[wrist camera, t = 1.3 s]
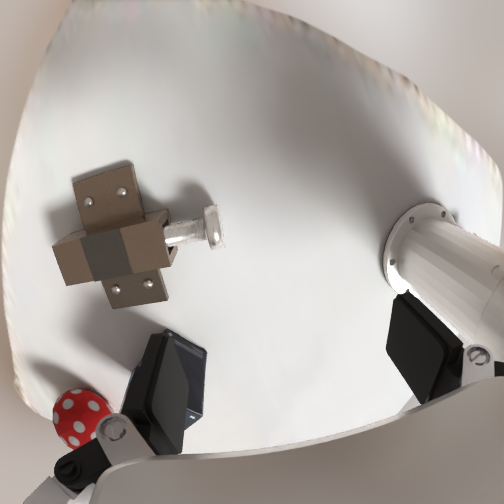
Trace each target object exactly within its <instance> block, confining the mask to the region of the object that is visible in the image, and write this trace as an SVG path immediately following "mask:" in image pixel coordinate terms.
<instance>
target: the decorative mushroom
mask: <svg viewBox="0 0 504 504" xmlns="http://www.w3.org/2000/svg"><path fill="white" fill-rule="evenodd" d="M110 414H114V412H113V409H112V408H111V407H110V405H109V404H108V403H107V402H106V401H105V400H104V398H102V397H100V396H99V395H97V394H95V393H94V392H92V391H88V390H83V389H74V390H69V391H66V392H65V393H64V394H62V395H61V396H60V397H58V399H57V401H56V403H55V405H54V407H53V423H54V426H55V429H56V431H57V434H58V436H59V437H60V438H61V439H62V440H63V441H64V442H65V444H66V445H67V446H68V447H70V448H72V449H73V450H75V449H77V448H79V447H80V446H82V445H84V444H86V443H87V442H89V441H91V440H92V439H94V438H96V433H95V430H96V426H97V424H98V422H99V421H100V420H101V419H102V418H104V417H105V416H107V415H110Z"/></svg>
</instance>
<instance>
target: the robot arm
mask: <svg viewBox="0 0 504 504" xmlns="http://www.w3.org/2000/svg"><path fill="white" fill-rule="evenodd" d="M383 267H384V273H385V277H386V280H387V281H388V283H389V285H390V286H391V287H392V288H393V289H394V290H395V291H396V292H397V293H398V295H397V296H396V298H395V299H394V300H393V307H392V314H391V320H390V327H389V333H388V338H387V344H386V351H387V354H388V355H389V357H390V358H391V360H392V361H393V363H394V364H395V366H396V367H397V369H398V370H399V372H400V373H401V375H402V376H403V378H404V379H405V381H406V382H407V384H408V385H409V387H410V388H411V390H412V391H413V393H414V395H415V396H416V398H417V399H418V401H419V402H420V404H422V405H420V406H418V407H415V408H413V409H411V410H408V411H405V412H403V413H400V414H398V415H395V416H392V417H389V418H387V419H384V420H381V421H378V422H375V423H372V424H369V425H365V426H362V427H359V428H356V429H352V430H349V431H345V432H341V433H338V434H334V435H330V436H326V437H321V438H317V439H313V440H308V441H303V442H298V443H293V444H287V445H281V446H275V447H268V448H261V449H253V450H244V451H233V452H221V453H205V454H181V453H182V447H183V437H184V427H185V418H186V410H187V401H188V393H189V384H188V380H187V378H186V375H185V373H184V370H183V367H182V365H181V362H180V359H179V357H178V354H177V351H176V349H175V346H174V343H173V340H172V338H171V336H167V335H166V333H158V334H151V336H150V339H149V342H148V345H147V347H146V350H145V353H144V356H143V359H142V362H141V364H140V366H137V367H136V369H135V371H134V374H133V377H132V380H131V382H130V385H129V388H128V391H127V394H126V397H125V400H124V403H123V407H122V410H121V413H120V414H118V413H115V414H110V415H107V416H105V417H104V418H102V419H101V420H100V421H99V422H98V424H97V426H96V430H95V433H96V438H94V439H92V440H91V441H89V442H87V443H86V444H84V445H82V446H80V447H79V448H77V449H75V450H73V451H72V452H70V453H68V454H66V455H64V456H63V457H61V458H60V459H59V460H58V461H57V462H56V464H55V467H54V474H55V476H54V477H53V478H51V477H50V476H49V477H48V478H47V479H46V480H45V481H44V482H43V483H42V484H41V485H40V486H39V487H38V488H37V489H36V490H35V491H34V492H33V493H32V494H31V495H30V496H29V497H27V498H26V499H25V501H24V502H23V504H504V250H503V249H502V248H500V247H498V246H496V245H494V244H492V243H490V242H488V241H486V240H484V239H482V238H480V237H478V236H477V235H476V234H475V233H473V234H472V233H470V232H468V231H466V230H464V229H462V228H459V227H457V226H456V223H455V220H454V218H453V217H452V215H451V214H450V213H449V211H448V210H447V209H445V208H443V207H442V206H440V205H437V204H434V203H423V204H419V205H417V206H414V207H413V208H411V209H410V210H408V211H407V212H406V213H405V214H404V215H403V216H402V217H400V219H399V220H398V221H397V223H396V224H395V225H394V227H393V229H392V231H391V233H390V235H389V237H388V240H387V243H386V246H385V251H384V258H383ZM419 296H420V297H421V298H422V299H424V300H425V301H426V302H427V303H428V304H429V305H430V306H431V307H432V308H434V309H435V310H436V311H437V312H438V313H439V314H440V315H441V316H442V317H443V318H444V319H446V320H447V321H448V322H449V323H450V324H451V325H452V326H453V327H454V328H455V329H456V330H457V331H458V332H459V333H460V334H461V335H462V336H463V337H464V338H465V339H467V340H468V341H469V342H470V343H471V344H472V345H470V346H468V347H467V348H466V349H464V348H463V347H462V346H463V343H462V341H460V339H459V338H458V337H457V336H456V335H455V334H454V333H453V332H452V331H451V330H450V329H449V328H448V327H447V326H446V325H445V324H444V323H443V322H442V321H441V320H440V319H439V318H437V317H436V316H435V315H434V314H433V313H432V312H431V311H430V310H429V309H428V308H427V307H426V306H425V305H424V304H423V303H422V302H421V301H420V300H419V299H417V298H416V297H419ZM178 454H179V455H178Z"/></svg>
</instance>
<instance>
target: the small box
mask: <svg viewBox="0 0 504 504" xmlns="http://www.w3.org/2000/svg"><path fill="white" fill-rule="evenodd" d="M163 333H166V335H167V336H171V338H172V340H173V343H174V346H175V349H176V351H177V354H178V357H179V359H180V362H181V365H182V367H183V370H184V373H185V375H186V378H187V380H188V384H189V393H188V401H187V410H186V418H185V427H184V430H186V429H187V428H188V427H190V426H191V425H192V424H194V423H195V422H196V421H197V420H199V419H200V418H201V417H203V402H204V386H205V384H204V381H205V368H206V359H207V352H206V351H205V350H203V349H201V348H199V347H197V346H195V345H194V344H192V343H190V342H188V341H187V340H185V339H183V338H182V337H180V336H179V335H177V334H175V333H174V332H172V331H170V330H168V329H166V330H165V331H164V332H163ZM141 362H142V360H141V361H140V363H139V364H138V365H137V366H140V364H141ZM135 369H136V368H135ZM135 369H134V370H133V372H132V374H131V377H130V380H129V383H128V386H127V389H126V392H125V395H124V399H123V402H122V405H121V408H120V412H119V414H120V413H121V410H122V407H123V403H124V400H125V397H126V394H127V391H128V388H129V385H130V382H131V380H132V377H133V374H134V371H135Z"/></svg>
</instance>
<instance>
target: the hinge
mask: <svg viewBox="0 0 504 504" xmlns="http://www.w3.org/2000/svg"><path fill="white" fill-rule="evenodd" d="M73 187H74V192H75V196H76V200H77V204H78V208H79V212H80V215H81V219H82V222H83V226H84V229H85V230H81V231H78V232H74V233H71V234H69V235H68V236H66V237H65V238H63V239H62V240H60V241H59V242H57V243H56V244H55V245H53V246H52V248H53V251H54V254H55V257H56V260H57V263H58V265H59V268H60V271H61V273H62V276H63V279H64V281H65V284H66V286H69V285H74V284H80V283H85V282H90V281H94V282H95V281H100V280H102V283H103V286H104V288H105V291H106V293H107V296H108V298H109V301H110V303H111V306H112V308H113V309H116V308H123V307H130V306H137V305H143V304H150V303H156V302H162V301H168V298H169V296H168V293H167V290H166V287H165V284H164V281H163V278H162V275H161V271H160V268H165V267H170V266H171V265H172V263H173V260H174V258H175V255H176V253H177V251H178V249H177V246H172V247H167V244H166V240H165V236H164V232H163V228H162V227H163V226H168V225H171V221H170V217H169V213H168V209H165V210H160V211H156V212H152V213H147V214H144V210H143V206H142V201H141V197H140V193H139V189H138V184H137V180H136V175H135V170H134V165H129V166H125V167H122V168H119V169H115V170H112V171H109V172H106V173H103V174H100V175H96V176H93V177H90V178H88V179H85V180H82V181H79V182H76V183H73Z"/></svg>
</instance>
